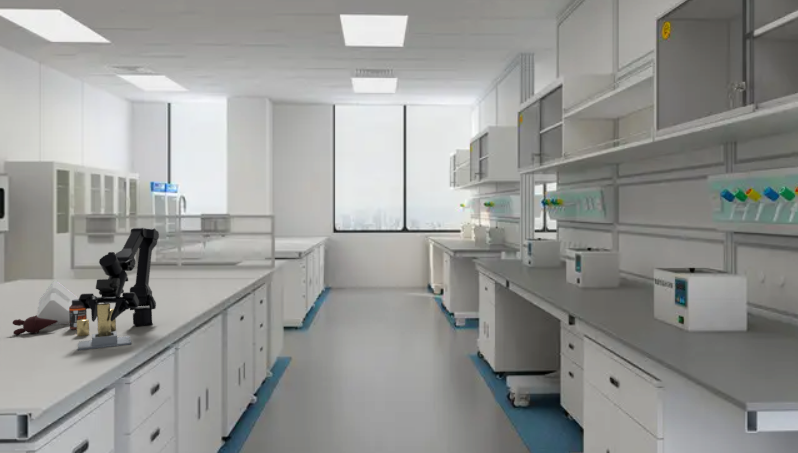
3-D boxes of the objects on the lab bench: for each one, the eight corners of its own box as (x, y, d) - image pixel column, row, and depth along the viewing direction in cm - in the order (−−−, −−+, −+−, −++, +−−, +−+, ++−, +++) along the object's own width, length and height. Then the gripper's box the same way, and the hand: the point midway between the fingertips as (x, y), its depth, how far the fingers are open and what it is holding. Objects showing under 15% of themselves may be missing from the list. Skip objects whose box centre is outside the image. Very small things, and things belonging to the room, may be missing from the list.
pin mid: (115, 328, 226) (115, 308, 226) (116, 330, 222) (115, 309, 222) (104, 329, 224) (103, 309, 224) (104, 331, 220) (103, 310, 220)
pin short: (89, 333, 218) (88, 318, 218) (89, 335, 215) (88, 320, 214) (77, 334, 216) (76, 319, 216) (76, 336, 213) (76, 321, 213)
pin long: (107, 340, 203) (106, 303, 202) (113, 341, 200) (112, 304, 200) (96, 342, 200) (94, 304, 199) (101, 343, 197) (100, 305, 197)
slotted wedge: (39, 333, 238) (31, 301, 227) (42, 313, 246) (35, 282, 235) (77, 329, 243) (71, 299, 232) (79, 310, 251) (74, 280, 240)
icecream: (59, 312, 227) (15, 319, 223) (54, 311, 221) (9, 317, 216) (61, 330, 226) (16, 337, 221) (56, 329, 219) (10, 336, 214)
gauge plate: (129, 337, 209) (129, 329, 209) (131, 344, 198) (130, 335, 198) (78, 343, 202) (78, 334, 202) (77, 350, 191) (77, 341, 191)
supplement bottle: (79, 330, 224) (78, 301, 224) (66, 329, 226) (64, 300, 225) (90, 327, 230) (89, 298, 230) (77, 326, 231) (76, 298, 231)
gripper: (80, 270, 203) (64, 307, 192) (134, 269, 203) (121, 306, 193) (92, 290, 211) (77, 326, 200) (144, 288, 212) (132, 324, 201)
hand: (102, 320), depth 198 cm, fingers open, 6 cm apart
